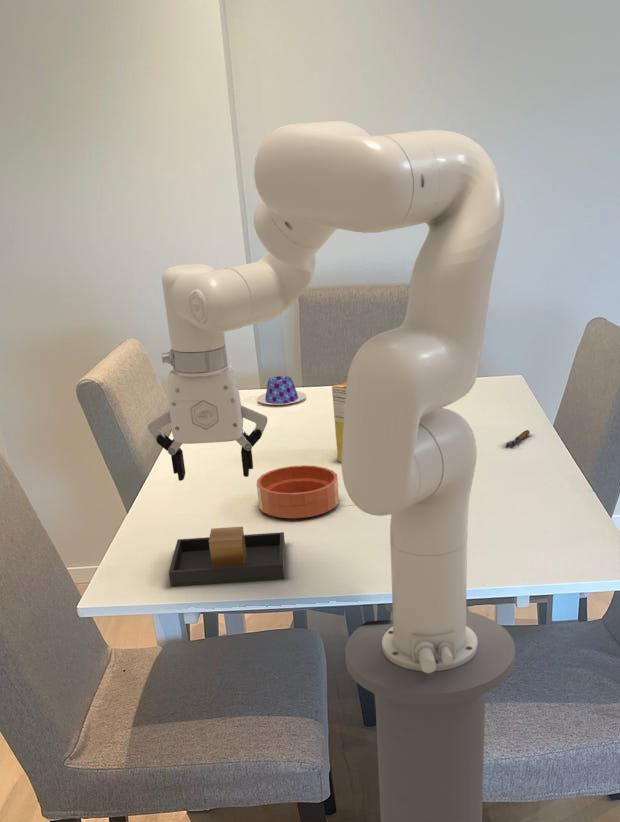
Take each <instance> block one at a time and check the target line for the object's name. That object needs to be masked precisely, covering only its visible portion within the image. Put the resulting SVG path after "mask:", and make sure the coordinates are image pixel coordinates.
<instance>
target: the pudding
mask: <svg viewBox="0 0 620 822" xmlns="http://www.w3.org/2000/svg"><path fill="white" fill-rule="evenodd" d="M265 391H266V392H265V393H263V394H260V395H259V396H258V397H256V401H257V402H258V403H261V404H265V405H272V406H284V405H289V404H294V403H297V402H300V401H302V400H304V399H306V398H307V394H306V393H305V392H303V391H299V390H297V389H296V385H295V382H294V379H293V378H292V377H290V376H287V375H278V376H273V377H270V378H269V379H268V380H267V384H266V390H265Z"/></svg>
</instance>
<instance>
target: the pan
mask: <svg viewBox="0 0 620 822" xmlns="http://www.w3.org/2000/svg"><path fill="white" fill-rule="evenodd" d="M209 538H210V536H208V537H194V538H192V537H191V538H178V539H177V540H176V543H175V548H174V551H173V555H172V559H171V563H170V566H169V570H168V577H169V583H170V587H183V586H197V585H211V584H227V583H228V584H229V583H241V582H256V581H270V580H284V579H285V569H286V568H285V567H286V562H285V561H286V541H285V532H284V531H282V532H267V533H266V532H265V533H251V534H244V539H245V547H246V564H245V566H232V567H217V568H212V562H211V555H210V547H209Z"/></svg>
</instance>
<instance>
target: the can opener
mask: <svg viewBox="0 0 620 822" xmlns="http://www.w3.org/2000/svg"><path fill="white" fill-rule="evenodd" d="M530 433H531V432H530V430H529V429H526V430H524V431H522V432H521V433H520V434H519V435H518V436H516V437H515V438H514V440H510V441H508V442H506V443H505V446H506V447H507V446H509V447H513V446H514V445H515V443H520V442H521V441H522V440H523V439H525V438H526V437H528V436H529V435H530Z"/></svg>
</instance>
